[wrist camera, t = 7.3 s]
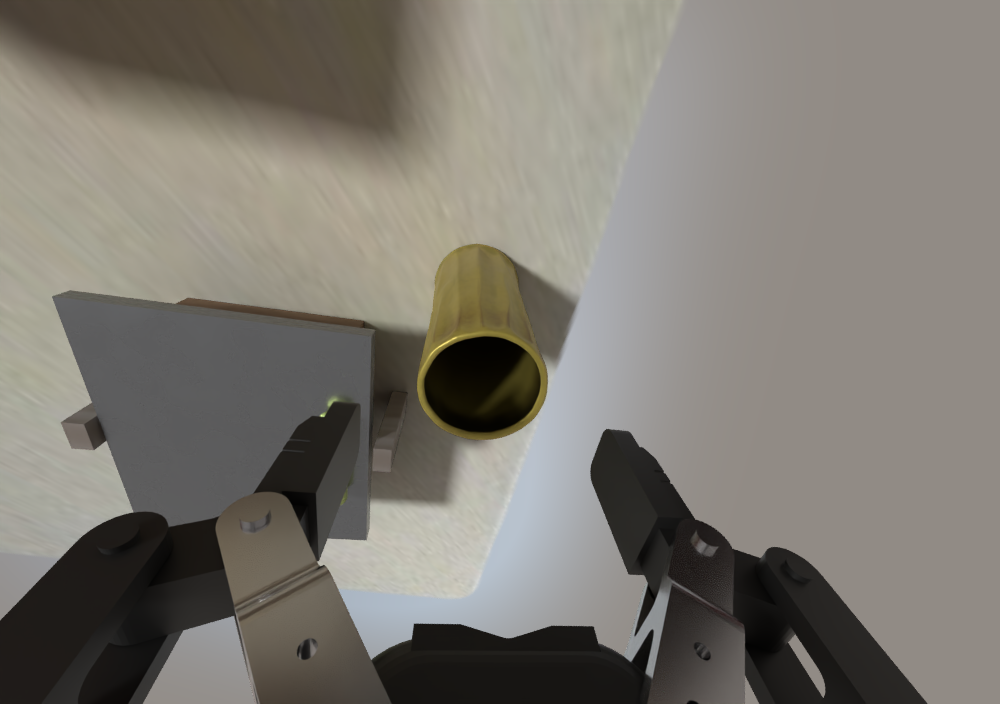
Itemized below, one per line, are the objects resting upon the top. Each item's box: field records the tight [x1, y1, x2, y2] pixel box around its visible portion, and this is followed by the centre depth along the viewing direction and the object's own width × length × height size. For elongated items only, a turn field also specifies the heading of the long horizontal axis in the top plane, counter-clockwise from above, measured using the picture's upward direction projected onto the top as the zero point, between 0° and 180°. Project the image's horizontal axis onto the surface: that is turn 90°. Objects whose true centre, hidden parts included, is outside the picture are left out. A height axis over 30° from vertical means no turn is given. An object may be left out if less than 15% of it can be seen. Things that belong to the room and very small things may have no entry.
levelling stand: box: [61, 298, 407, 472], centre depth 27 cm, size 14×19×7 cm
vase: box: [417, 244, 548, 440], centre depth 21 cm, size 6×6×14 cm
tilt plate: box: [52, 290, 375, 540], centre depth 24 cm, size 18×16×3 cm
